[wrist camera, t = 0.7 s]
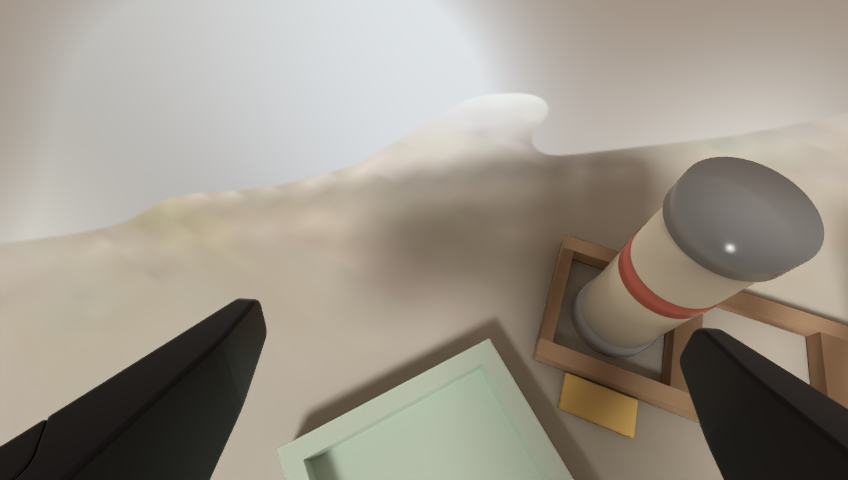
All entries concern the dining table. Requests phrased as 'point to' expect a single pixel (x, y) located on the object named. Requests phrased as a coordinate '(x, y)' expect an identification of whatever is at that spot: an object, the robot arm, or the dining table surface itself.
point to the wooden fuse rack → (671, 353)
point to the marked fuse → (698, 253)
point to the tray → (434, 431)
